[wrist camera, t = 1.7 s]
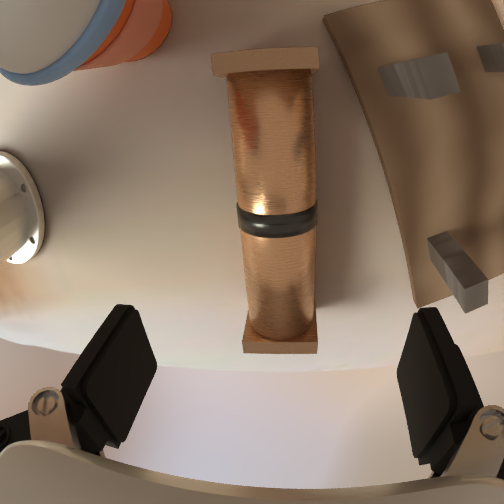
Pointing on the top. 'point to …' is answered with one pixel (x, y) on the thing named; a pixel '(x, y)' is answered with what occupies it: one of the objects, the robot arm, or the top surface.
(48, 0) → the cup with straw
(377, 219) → the top surface
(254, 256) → the copper tube
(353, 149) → the top surface
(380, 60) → the collar board
